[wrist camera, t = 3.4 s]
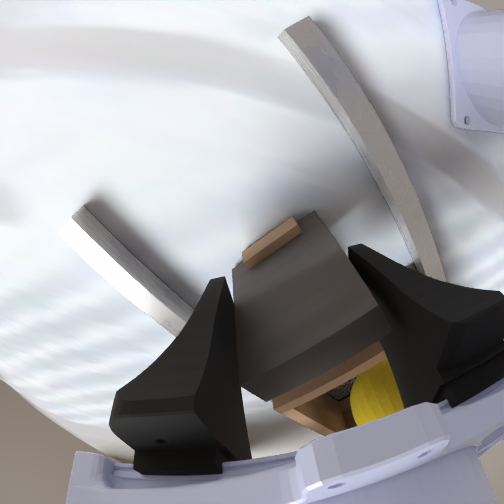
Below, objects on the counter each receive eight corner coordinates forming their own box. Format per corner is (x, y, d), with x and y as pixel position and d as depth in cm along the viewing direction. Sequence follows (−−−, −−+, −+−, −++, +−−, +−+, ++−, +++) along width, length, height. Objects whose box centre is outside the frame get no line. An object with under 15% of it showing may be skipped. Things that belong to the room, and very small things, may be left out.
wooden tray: (437, 346, 21) (474, 408, 15) (334, 408, 23) (353, 475, 17) (357, 169, 13) (450, 237, 7) (186, 292, 16) (171, 406, 9)
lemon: (407, 326, 19) (457, 412, 12) (397, 370, 22) (433, 445, 15) (337, 348, 19) (374, 449, 12) (337, 389, 22) (364, 473, 15)
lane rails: (453, 338, 21) (461, 350, 20) (322, 418, 24) (325, 431, 23) (299, 24, 10) (308, 15, 8) (71, 220, 13) (58, 233, 12)
